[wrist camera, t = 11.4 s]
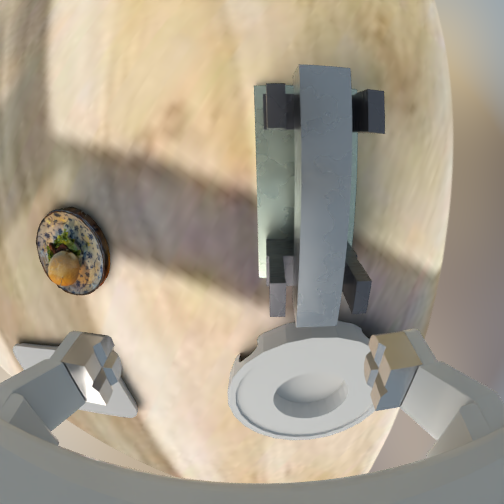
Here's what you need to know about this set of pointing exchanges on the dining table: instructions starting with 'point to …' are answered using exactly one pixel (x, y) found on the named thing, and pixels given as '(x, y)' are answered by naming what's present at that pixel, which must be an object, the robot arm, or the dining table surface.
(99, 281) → the burger
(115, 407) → the tablet
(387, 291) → the dining table surface
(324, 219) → the rail
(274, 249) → the bracket stand
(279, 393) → the ashtray
